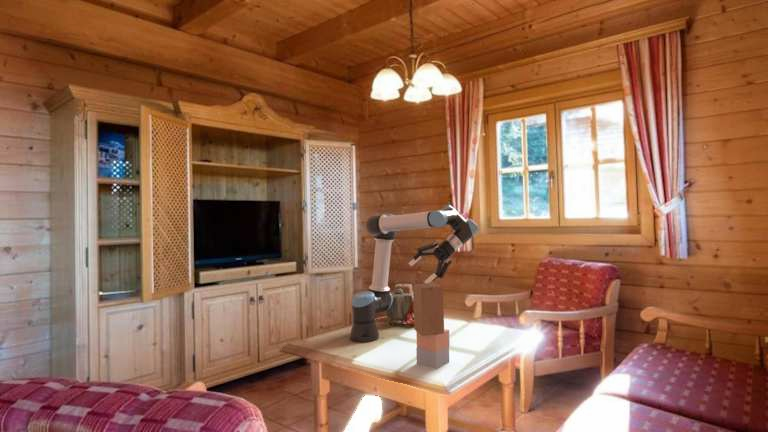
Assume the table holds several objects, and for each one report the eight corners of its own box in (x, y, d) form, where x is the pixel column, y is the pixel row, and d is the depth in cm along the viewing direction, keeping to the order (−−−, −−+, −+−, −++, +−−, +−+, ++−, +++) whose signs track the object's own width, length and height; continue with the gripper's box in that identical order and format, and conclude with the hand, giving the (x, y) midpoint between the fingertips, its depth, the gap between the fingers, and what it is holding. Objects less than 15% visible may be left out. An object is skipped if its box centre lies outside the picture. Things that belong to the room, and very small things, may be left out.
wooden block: (444, 333, 187) (443, 285, 187) (422, 336, 184) (421, 287, 184) (435, 327, 197) (434, 282, 197) (413, 330, 194) (412, 284, 194)
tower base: (416, 364, 192) (416, 347, 191) (430, 357, 199) (429, 342, 199) (436, 369, 185) (435, 352, 185) (449, 362, 193) (448, 346, 193)
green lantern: (394, 319, 271) (393, 286, 271) (397, 315, 281) (396, 283, 281) (410, 319, 269) (409, 286, 269) (413, 315, 279) (412, 283, 279)
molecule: (431, 317, 273) (436, 293, 271) (443, 324, 265) (449, 300, 262) (398, 321, 259) (403, 295, 256) (410, 329, 250) (415, 303, 247)
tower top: (416, 347, 192) (416, 331, 192) (430, 342, 199) (430, 326, 199) (436, 352, 185) (435, 335, 185) (449, 346, 193) (449, 329, 193)
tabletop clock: (405, 320, 268) (403, 278, 267) (414, 323, 260) (413, 280, 260) (385, 324, 259) (384, 281, 259) (394, 327, 252) (393, 283, 252)
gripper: (440, 229, 206) (405, 259, 205) (467, 265, 216) (434, 294, 215) (434, 224, 213) (400, 253, 212) (460, 259, 223) (428, 287, 222)
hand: (417, 274), depth 213 cm, fingers open, 13 cm apart
